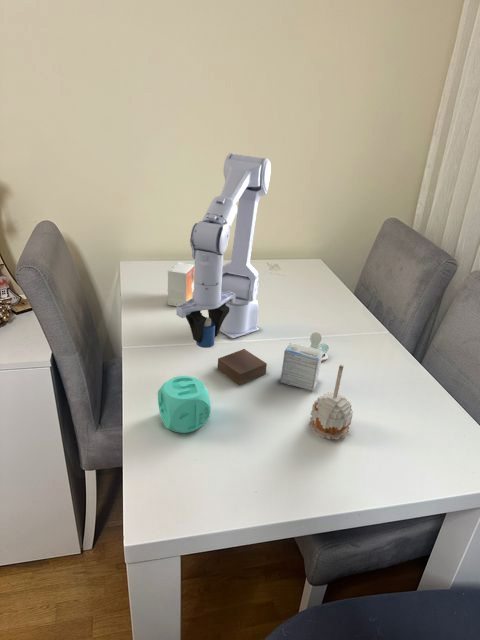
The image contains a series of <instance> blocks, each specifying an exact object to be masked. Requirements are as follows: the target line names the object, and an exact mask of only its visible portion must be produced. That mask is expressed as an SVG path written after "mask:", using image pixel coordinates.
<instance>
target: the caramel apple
mask: <svg viewBox="0 0 480 640" xmlns="http://www.w3.org/2000/svg"><path fill="white" fill-rule="evenodd" d="M343 371H344V365H343V364H340V365H338V372H337V376H336V381H335V386H334V389H333V390H334V391H333V392H327V393H324V394H323V395H320V396H319V397H317V399H316V400H315V401H314V403H313V404H312V407H311V411H310V416H311V417H310V418H309V423H308V424H309V427H310V430H312V431H313V433H314V434H315V435H317V436H319V437H321V438H322V439H323V438H326V439H327V440H331V439H332V440H339V438H342V439H343V438H345V436H346V437H347V435H348V434H349V432H350V425H351V424H352V420H353V416H354V415H353V414H354V411H353V408H352V404H351V402H350V401H349V400H348V399H347V398H346V396H343V395H342V394H340V393H339V390H340V385H341V380H342V376H343Z"/></svg>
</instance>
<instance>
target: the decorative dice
mask: <svg viewBox="0 0 480 640" xmlns="http://www.w3.org/2000/svg"><path fill="white" fill-rule="evenodd" d="M210 399H211V398H210V395H209V391H208V389H207V387H206V385H205V383H204V382H203V381H201V380H200V379H199V378H196V377H194V376H191V375H190V376H189V375H180V376H179V375H178V376H174V377H172V378H170V379H168V380H167V381H165V382H164V383H163V384H162V385H161V387H160V388H159V389H158V391H157V405H158V410H159V415H160V418H161V421H162V423H163V425H164V427H165V428H166V429H167V430H169V431H171V432H174V433H178V434H179V433H180V434H187V433H192V432H195V431H197V430H198V429H201V428H202V427H203V426H204V425H205V424H206V423H207V421H208V420H209V418H210V417H211V409H212V407H211V400H210Z"/></svg>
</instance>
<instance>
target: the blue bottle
mask: <svg viewBox="0 0 480 640" xmlns="http://www.w3.org/2000/svg"><path fill="white" fill-rule="evenodd" d="M205 317H206V318H207V319H206V321H205V324H204V328H203V337H202V342H201V343H198V342H196V341H195V344H196V345H197V346H198V347H199V348H203V349H208V348H212V347H213V346H214V345H215V341H216V340H215V338H216V337H215V323H214V322H212V321H211V318H209V316H205Z"/></svg>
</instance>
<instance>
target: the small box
mask: <svg viewBox="0 0 480 640" xmlns="http://www.w3.org/2000/svg"><path fill="white" fill-rule="evenodd" d="M194 266H195V264H192V263H186V262H179V261H177V262H176V263H175V264H174V265H173V266H172V267H171V268H170V269H169V270H167V305H168V306H173V307H177V306H180V305H182V304H184V303H185V302H187V301H188V300H190V299H192V298H193V294H194Z"/></svg>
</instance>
